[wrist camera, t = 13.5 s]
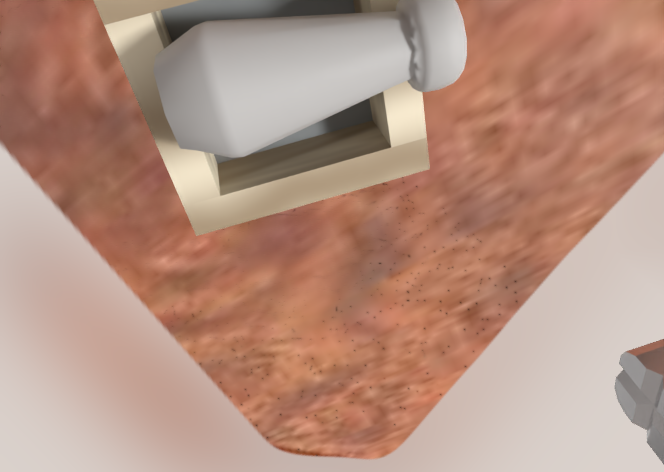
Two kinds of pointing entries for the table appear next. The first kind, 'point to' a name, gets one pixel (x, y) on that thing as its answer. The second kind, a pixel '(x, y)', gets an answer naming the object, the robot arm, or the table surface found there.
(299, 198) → the socket block
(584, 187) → the table surface
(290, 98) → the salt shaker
